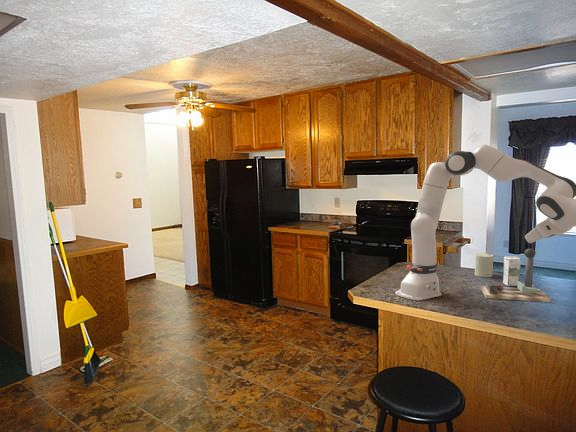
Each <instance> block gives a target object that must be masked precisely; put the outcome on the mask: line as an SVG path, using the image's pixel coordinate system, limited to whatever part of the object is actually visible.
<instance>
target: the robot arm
mask: <svg viewBox="0 0 576 432" xmlns="http://www.w3.org/2000/svg"><path fill="white" fill-rule="evenodd" d="M474 169H478V170H479V171H481V172H483V173H484V174H486V175H488V176H489V177H490V178H492V179H493V180H496V181H498V182H503V183H506V182H510V181H513V180H515V179H519V178H529V179H531V180H533V181H534V182H537V183H539V184H541V185H543V186H545V188H546V189H545V190H544V191H542V193H541V194H540V195H539V196H538V198H537V199H536V202H535V205H536V208H537V209H538V210H539V211H540V213H542V214H543V215H544V216H546V217H547V218H544V220H543V221H541V222H539V223H538V224H536V225H535V227H534V228H532V229H531V230H530V231H529V232H528V233H526V234H525V235H524V239H525V241H526V242H527V243H529V244H533V243H535V242H537V241H540V240H542V239H548V238H552V237H555V236H562V235H564V234H566V233H567V232H569V231H571V230H572V229H573V228H575V227H576V198H575V197H576V183H575V181H573V180H572V179H571V178H568V177H565V176H560V175H558V174H555V173H554V172H552V171H549V170H548V169H546V168H543V167H542V166H539V165H537V164H535V163H532V162H530V161H528V160H526V159H525V160H523V159H517V158H514V157H512V156H510V155H509V154H506V153H505V152H503V151H501V150H500V149H498V148H496V147H494V146H491V145H488V144H482V145H479V146H478V147H476V148H475V149H474V150H473V151H466V150H465V151H464V150H456V151H454V152H453V151H452V152H450V153H449V154H448V155H447V157H446V158H445V162H442V161H435V162H432V163H431V164H430V165H429V167H428V168H427V171H426V173H425V175H424V179H423V182H422V185H421V186H422V187H421V190H420V193H419V198H418V203H417V209H416V213H415V217H414V218H413V219H412V221H411V222H410V232H411V246H412V249H411V251H412V256H411V258H412V260H411V263H410V265H409V264H407V265H406V270H409V272H408V273H407V274H406V276H405V277H404V278H403V279H402V280H401V283H400V288H399V289H398V290H396V291H395V295H396V296H397V297H398V296H399V297H401V298H403V299H408V300H412V301H423V300H429V299H432V298H435V297H436V298H437V297H441V296H442V292H440V282H439V281H440V280H439V277H438V274H437V270H438V265H437V238H436V231H437V228H438V226H439V220H440V217H441V212H442V209H443V205H444V202H445V197H446V194H447V190H448V186H449V183H450V180H451V179H452V178H453V176H458V177H459V176H465V175H467V174H469V173H471V172H472V171H473V170H474Z"/></svg>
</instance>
